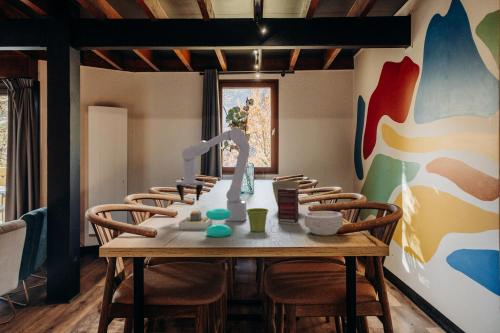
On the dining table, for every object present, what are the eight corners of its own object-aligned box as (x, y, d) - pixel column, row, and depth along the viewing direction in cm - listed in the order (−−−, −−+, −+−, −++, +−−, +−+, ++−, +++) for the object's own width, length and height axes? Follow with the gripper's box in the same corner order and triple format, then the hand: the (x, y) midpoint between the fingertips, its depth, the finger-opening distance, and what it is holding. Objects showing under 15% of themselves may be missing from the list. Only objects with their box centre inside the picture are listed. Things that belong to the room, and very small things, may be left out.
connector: (201, 223, 158) (201, 210, 158) (199, 225, 154) (199, 212, 154) (192, 223, 159) (192, 210, 158) (190, 225, 155) (190, 212, 154)
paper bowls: (301, 229, 149) (300, 210, 148) (336, 228, 150) (336, 209, 149) (309, 238, 134) (309, 217, 133) (348, 237, 135) (348, 216, 134)
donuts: (212, 207, 147) (234, 208, 143) (213, 231, 147) (235, 232, 144) (201, 211, 138) (224, 212, 134) (201, 236, 138) (225, 238, 135)
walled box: (212, 223, 162) (211, 217, 161) (206, 229, 150) (206, 222, 149) (186, 223, 163) (186, 217, 163) (178, 229, 151) (178, 222, 151)
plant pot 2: (281, 208, 202) (280, 180, 202) (304, 210, 194) (304, 181, 193) (267, 212, 190) (266, 182, 189) (291, 214, 182) (290, 184, 181)
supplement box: (298, 222, 161) (298, 188, 161) (295, 225, 157) (295, 189, 156) (281, 221, 165) (280, 187, 164) (277, 223, 161) (277, 189, 160)
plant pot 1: (253, 234, 141) (252, 212, 141) (242, 229, 149) (242, 209, 149) (272, 231, 145) (272, 210, 145) (261, 227, 154) (261, 207, 153)
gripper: (172, 173, 168) (173, 201, 168) (202, 173, 166) (202, 201, 167) (176, 172, 175) (177, 199, 175) (205, 172, 173) (205, 199, 174)
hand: (190, 200), depth 172 cm, fingers open, 7 cm apart
